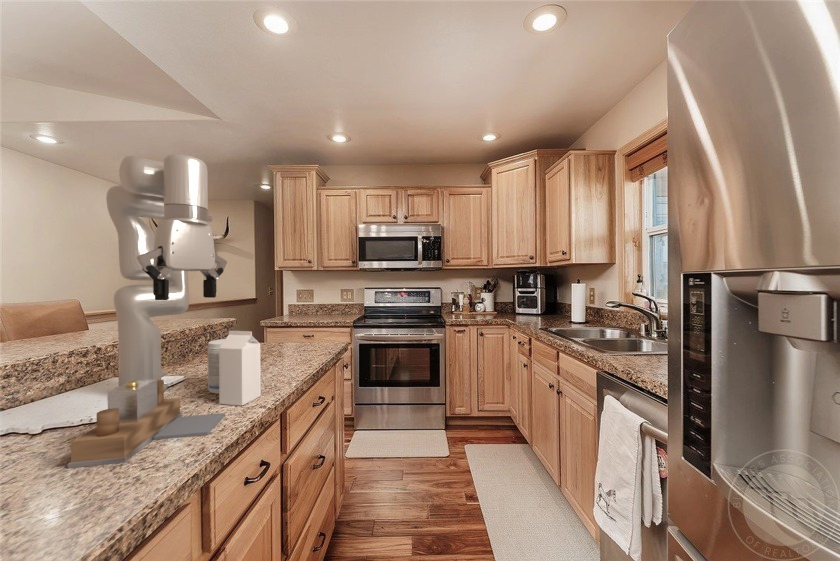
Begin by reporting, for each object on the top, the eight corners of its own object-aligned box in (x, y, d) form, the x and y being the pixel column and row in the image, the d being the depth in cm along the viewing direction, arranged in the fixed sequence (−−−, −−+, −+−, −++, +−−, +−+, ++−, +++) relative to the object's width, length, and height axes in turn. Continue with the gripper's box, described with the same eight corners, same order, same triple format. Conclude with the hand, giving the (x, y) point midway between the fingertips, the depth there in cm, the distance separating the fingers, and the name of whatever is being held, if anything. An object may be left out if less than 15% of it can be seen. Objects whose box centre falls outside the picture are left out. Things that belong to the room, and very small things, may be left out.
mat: (178, 419, 76) (178, 417, 76) (225, 415, 79) (225, 413, 79) (153, 439, 67) (153, 437, 67) (207, 434, 69) (207, 431, 69)
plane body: (141, 419, 77) (140, 379, 77) (182, 415, 79) (181, 376, 79) (67, 468, 57) (67, 414, 57) (125, 462, 59) (124, 409, 59)
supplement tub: (249, 389, 98) (248, 340, 98) (212, 397, 91) (212, 345, 91) (239, 382, 104) (239, 336, 104) (204, 389, 98) (204, 340, 98)
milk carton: (242, 406, 84) (241, 333, 84) (219, 404, 86) (218, 332, 86) (260, 396, 91) (260, 329, 91) (239, 395, 93) (238, 328, 93)
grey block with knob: (131, 410, 71) (130, 377, 71) (157, 408, 72) (157, 375, 72) (107, 424, 64) (107, 387, 64) (137, 422, 65) (137, 385, 65)
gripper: (213, 224, 77) (214, 296, 77) (126, 210, 61) (126, 300, 61) (236, 222, 75) (237, 296, 74) (151, 206, 58) (151, 301, 58)
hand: (187, 298), depth 68 cm, fingers open, 9 cm apart
